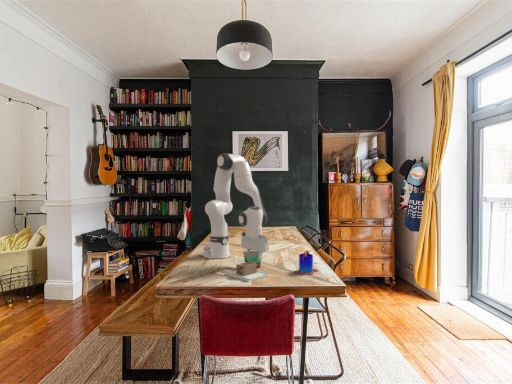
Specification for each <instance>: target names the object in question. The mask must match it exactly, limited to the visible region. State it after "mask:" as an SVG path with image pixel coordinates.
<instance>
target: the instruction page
mask: <svg viewBox="0 0 512 384" xmlns="http://www.w3.org/2000/svg"><path fill="white" fill-rule="evenodd" d="M230 271H232V270H231V269H223V270H220V271H217V272H214V274H216V275H221V276H225V275H226V272H230Z"/></svg>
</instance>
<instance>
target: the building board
mask: <svg viewBox="0 0 512 384" xmlns="http://www.w3.org/2000/svg"><path fill="white" fill-rule="evenodd" d="M268 274H269V273H268V272H264V271H260V270H257V273H254V274H251V275H247V276H242V275H239V274H236V269H235V270H231V271H230V272H226V274H225V275H226V276H229V277H232V278H235V279H238V280H241V281H245V282H247V283H250V282H253V281H257V280H261V279H262V278H263V279H264V278H267V277H269V276H268Z"/></svg>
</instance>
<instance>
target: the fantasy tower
mask: <svg viewBox="0 0 512 384" xmlns="http://www.w3.org/2000/svg"><path fill="white" fill-rule="evenodd" d="M313 264H314V256H313V254H311V253H310V252H309V251H308V250H306V251H304V252H303V253H299V255H298V269H296V270H294V271H293V273H294V274H302V275H308V276H314V273H315V272H318V271H319V270H318V269H315V268H314V265H313Z"/></svg>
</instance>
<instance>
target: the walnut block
mask: <svg viewBox="0 0 512 384" xmlns="http://www.w3.org/2000/svg"><path fill="white" fill-rule="evenodd" d="M235 266H236V268H235V270H236V274H239V275H242V276H247V275H251V274H254V273H257V271H258V270H257V269H258V268H257V264H256V263H252V262H245V261H244V262H241V263H237V264H235Z"/></svg>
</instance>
